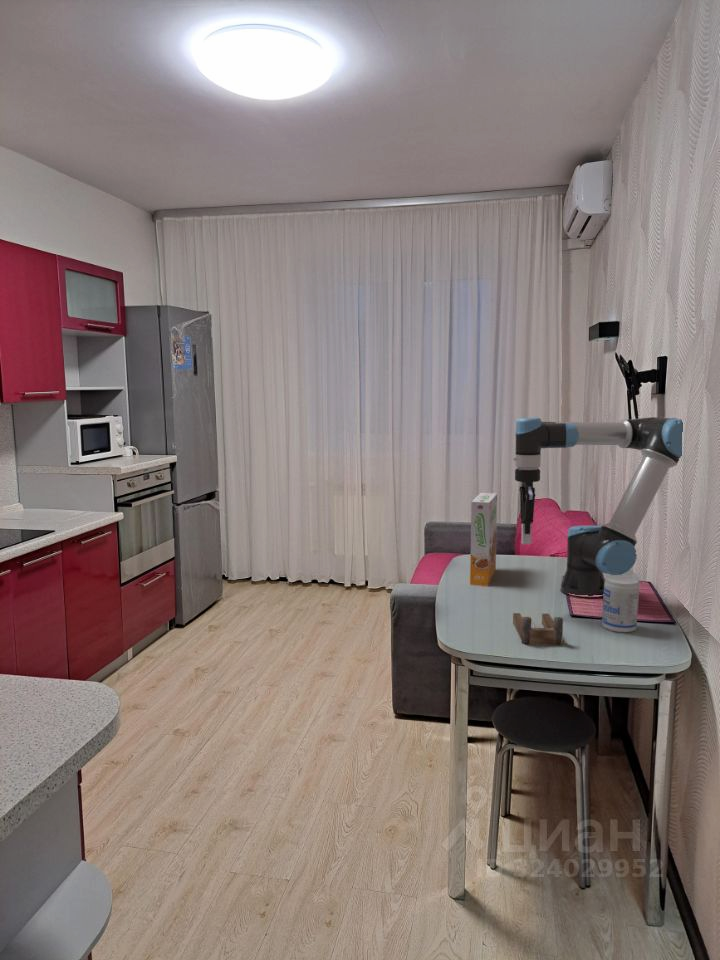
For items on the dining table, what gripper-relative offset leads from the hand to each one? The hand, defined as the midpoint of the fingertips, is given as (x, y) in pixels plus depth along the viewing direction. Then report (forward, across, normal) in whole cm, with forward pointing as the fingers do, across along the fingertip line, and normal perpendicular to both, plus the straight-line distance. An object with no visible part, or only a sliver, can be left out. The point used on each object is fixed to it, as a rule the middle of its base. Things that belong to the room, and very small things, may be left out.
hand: (526, 543), depth 216 cm
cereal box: (+22, -39, -8) cm, 45 cm away
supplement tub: (+22, +15, +24) cm, 36 cm away
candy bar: (+22, +17, -2) cm, 28 cm away
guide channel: (+22, +20, 0) cm, 29 cm away
